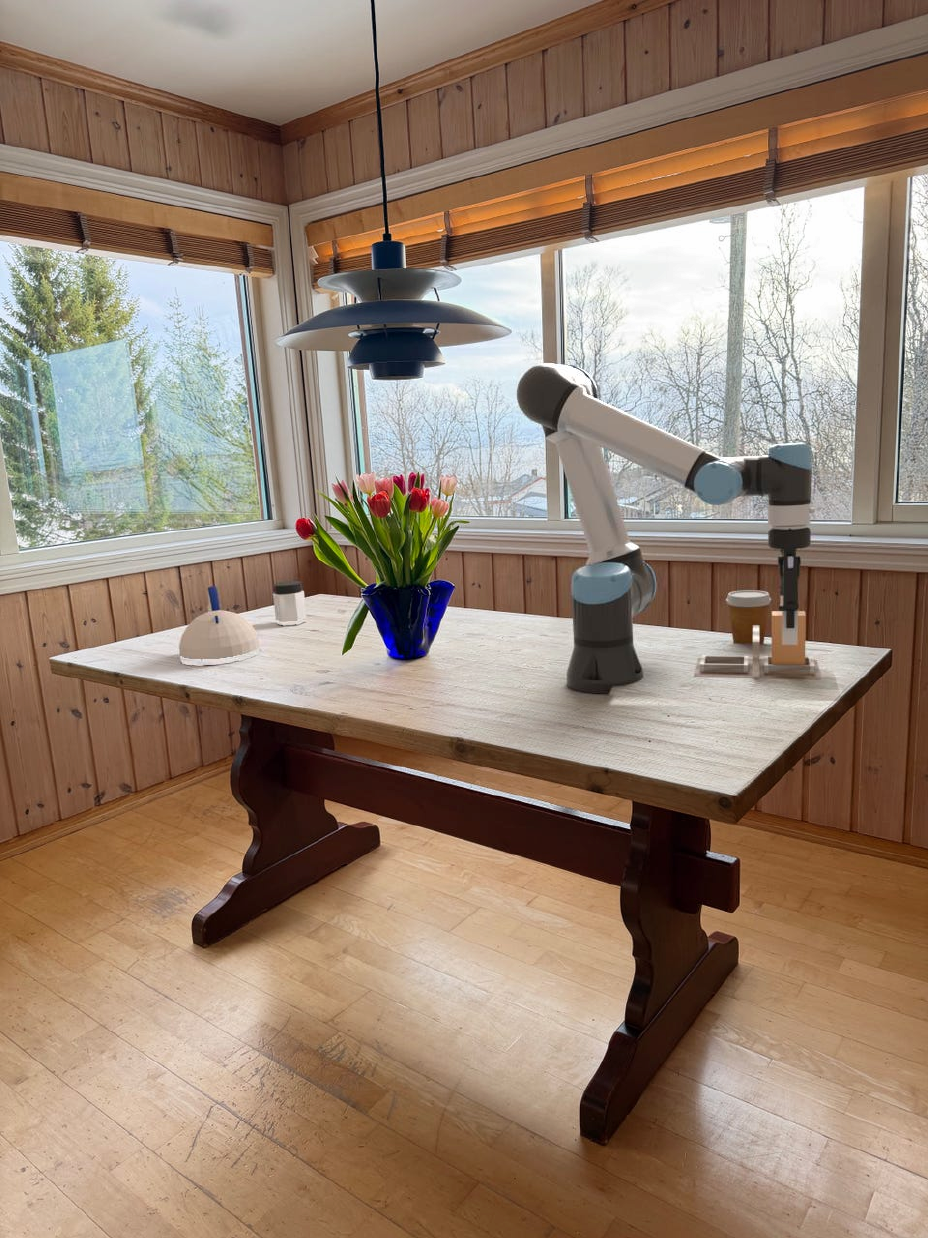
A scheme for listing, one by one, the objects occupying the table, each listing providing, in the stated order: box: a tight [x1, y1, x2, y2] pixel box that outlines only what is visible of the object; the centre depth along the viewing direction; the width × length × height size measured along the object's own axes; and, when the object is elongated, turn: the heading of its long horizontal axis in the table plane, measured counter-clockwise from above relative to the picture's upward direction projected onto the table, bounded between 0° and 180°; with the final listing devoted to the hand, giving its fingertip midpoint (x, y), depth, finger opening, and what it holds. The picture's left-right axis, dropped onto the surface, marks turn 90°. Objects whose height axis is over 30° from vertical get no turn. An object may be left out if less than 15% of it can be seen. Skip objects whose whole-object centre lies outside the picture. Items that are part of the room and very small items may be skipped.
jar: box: [272, 580, 308, 622], centre depth 254 cm, size 9×8×12 cm
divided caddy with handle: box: [693, 625, 822, 680], centre depth 171 cm, size 14×23×8 cm, turn 72°
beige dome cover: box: [178, 585, 261, 660], centre depth 219 cm, size 20×21×18 cm
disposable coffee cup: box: [725, 589, 772, 645], centre depth 193 cm, size 10×10×12 cm
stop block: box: [771, 610, 807, 665], centre depth 168 cm, size 4×6×11 cm, turn 72°
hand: (788, 636), depth 168 cm, fingers open, 13 cm apart
